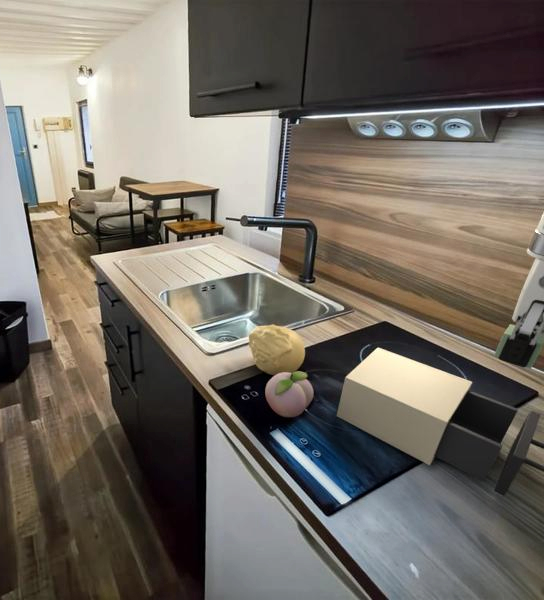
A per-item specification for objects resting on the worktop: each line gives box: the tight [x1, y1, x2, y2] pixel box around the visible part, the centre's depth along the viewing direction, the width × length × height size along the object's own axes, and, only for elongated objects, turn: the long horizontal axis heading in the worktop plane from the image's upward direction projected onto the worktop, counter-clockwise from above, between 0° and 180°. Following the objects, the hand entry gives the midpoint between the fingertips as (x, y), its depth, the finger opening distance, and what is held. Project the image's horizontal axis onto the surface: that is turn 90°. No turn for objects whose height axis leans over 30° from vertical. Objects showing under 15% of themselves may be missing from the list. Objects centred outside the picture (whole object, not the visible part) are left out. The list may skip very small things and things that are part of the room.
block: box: [493, 323, 544, 369], centre depth 58 cm, size 4×4×4 cm
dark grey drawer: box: [434, 390, 544, 497], centre depth 60 cm, size 20×13×8 cm
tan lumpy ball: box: [248, 323, 306, 377], centre depth 85 cm, size 11×12×11 cm
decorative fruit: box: [264, 370, 314, 418], centre depth 71 cm, size 9×8×10 cm
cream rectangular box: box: [336, 347, 473, 466], centre depth 69 cm, size 16×15×10 cm
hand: (515, 355), depth 58 cm, fingers closed on block, 4 cm apart
